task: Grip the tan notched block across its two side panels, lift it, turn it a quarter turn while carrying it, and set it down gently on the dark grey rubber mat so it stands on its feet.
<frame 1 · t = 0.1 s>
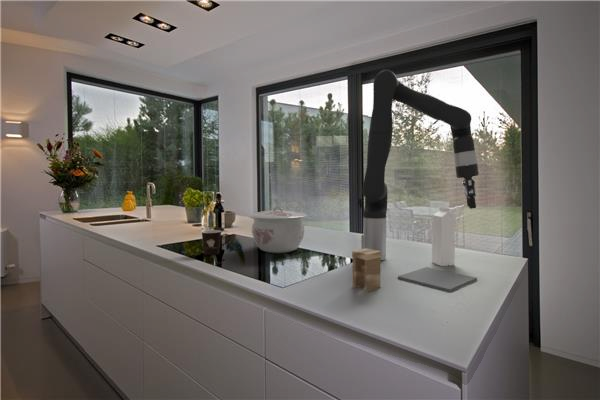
hand: (471, 207, 130), 22 cm above the counter, fingers open, 8 cm apart
chamber pot: (278, 250, 163), on the counter
milk: (442, 264, 135), on the counter
coffee mug: (214, 254, 156), on the counter
tan notched block: (366, 287, 107), on the counter
mat: (436, 279, 115), on the counter
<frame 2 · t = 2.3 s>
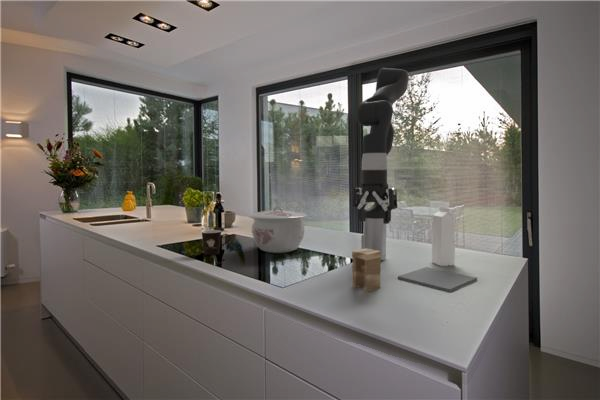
hand: (374, 222, 106), 20 cm above the counter, fingers open, 8 cm apart
nothing on the counter moved.
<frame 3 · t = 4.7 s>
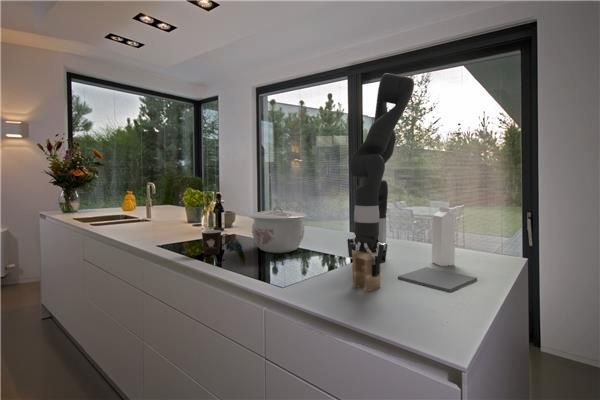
hand: (366, 274, 107), 4 cm above the counter, fingers closed on tan notched block, 6 cm apart
tan notched block: (366, 287, 107), on the counter, touching gripper
everything else where it was.
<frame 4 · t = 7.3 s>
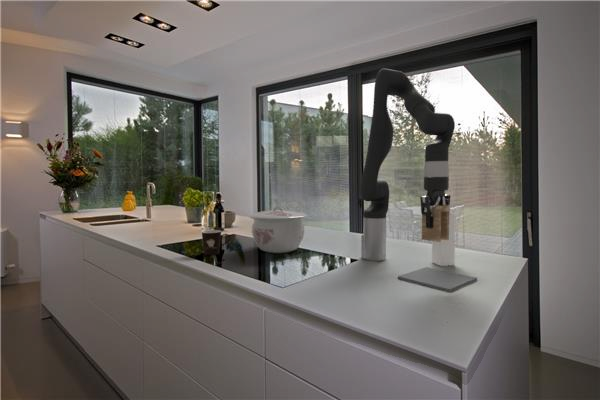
hand: (435, 226, 113), 18 cm above the counter, fingers closed on tan notched block, 6 cm apart
tan notched block: (435, 239, 114), point 13 cm above the counter, touching gripper
everything else where it was.
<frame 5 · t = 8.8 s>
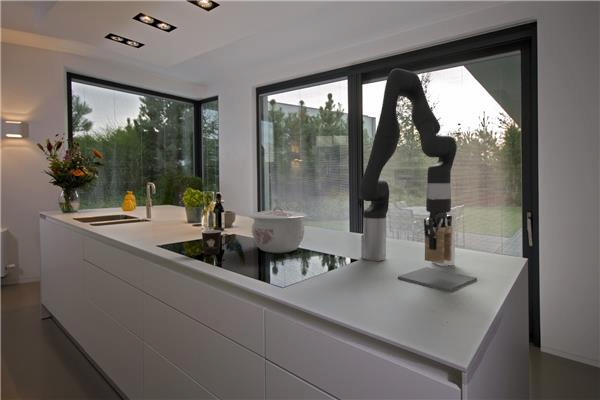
hand: (437, 248, 114), 10 cm above the counter, fingers closed on tan notched block, 6 cm apart
tan notched block: (437, 260, 114), point 6 cm above the counter, touching gripper
everything else where it was.
when the fingers open (6 cm above the counter, at t = 10.2 s): tan notched block stays where it is, resting on mat.
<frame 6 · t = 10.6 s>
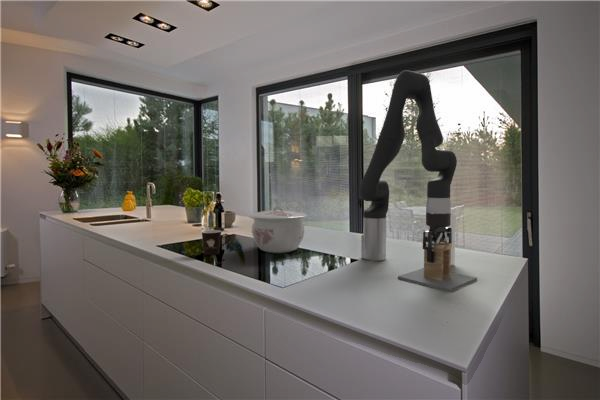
hand: (437, 260, 115), 6 cm above the counter, fingers open, 8 cm apart
tan notched block: (436, 276, 115), point 1 cm above the counter, touching mat
everything else where it was.
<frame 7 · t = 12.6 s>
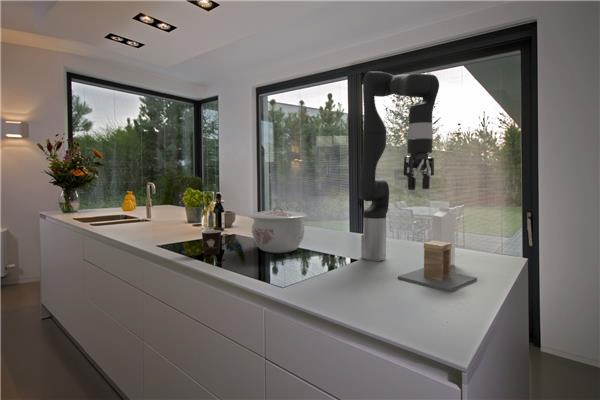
hand: (418, 189, 112), 30 cm above the counter, fingers open, 8 cm apart
nothing on the counter moved.
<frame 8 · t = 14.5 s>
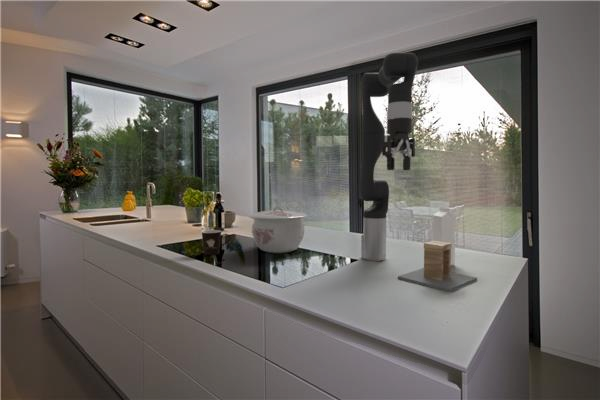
hand: (398, 170, 110), 36 cm above the counter, fingers open, 8 cm apart
nothing on the counter moved.
at the end: tan notched block inside the target area on the mat (0.0 cm from its centre), point 0.8 cm above the mat's base; tan notched block tilted 0°; the gripper is holding nothing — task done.
